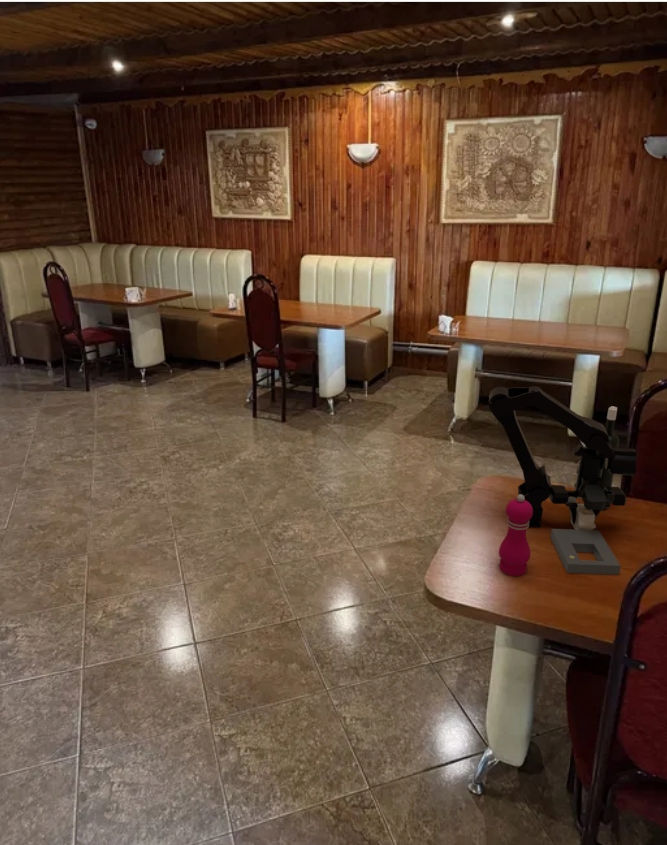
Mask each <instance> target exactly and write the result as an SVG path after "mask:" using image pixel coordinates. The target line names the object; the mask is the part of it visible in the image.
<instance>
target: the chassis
mask: <svg viewBox="0 0 667 845" xmlns="http://www.w3.org/2000/svg"><path fill="white" fill-rule="evenodd" d="M550 539H551V543H552V544H553V546H554V548H555V550H556V552H557V555H558V556H559V559H560V561H561V564H562V565H563V567H564V570H565V572H566V574H583V575H584V574H586V575H611V576H612V575H613V576H615V575H616V576H617V575H619V574H620V570H621V564H620V562H619V560H618V559H617V557H616V556H615V554H614V553H613V551H612V549H611V547H610V546H609V545H608V543H607V541H606V539H605V538H604V537H603V535H602V533H601V531H600V530H598V529H593V530H575V529H574V528H573V529H570V528H569V529H568V528H567V529H565V528H551V529H550ZM578 553H592V554H593V556H594V558H595V559H596V560H586V559H585V560H582V559H580V557H579V555H578Z"/></svg>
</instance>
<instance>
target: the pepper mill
mask: <svg viewBox="0 0 667 845" xmlns="http://www.w3.org/2000/svg"><path fill="white" fill-rule="evenodd" d="M516 498H517V499H516ZM516 498H514V499H511V500H510V501H508V503H507V505H506V508H505V514H506V516H507V518H506V520H507V521H506V525H507V526H508V527H507V532H506V535H505V537H504V538H503V540H502V542H501V543H500V546H499V550H498V555H499V558H500V561H499V570H501V572H503V574H505V575H508V576H511V577H519V576H523V575H525V574H526V572H527V568H528V562H529V561H530V559H531V549H530V546H529V542H528V540H527V529H529V519H530V518H531V517H532V514H533V509H532V506H531V504H530V503H529V502H527V501H526V500H525V497H524V496H523V495H521V494H520V495H518V494H517V496H516Z"/></svg>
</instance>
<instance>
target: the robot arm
mask: <svg viewBox="0 0 667 845" xmlns="http://www.w3.org/2000/svg"><path fill="white" fill-rule="evenodd" d="M533 406H534V407H535V408H537V409H538V410H540V411H542V412H543V413H544V414H545V415H547V416H549V417H550V418H552V419H553V420H555V421H556V422H558V423H559V424H561V425H563V426H564V427H565V428H567V429H569V431H571V432H572V433H573V434H574V436H575V437H576V438H577V439H578V440H579V442H581V443H580V444H578V445H576V446H575V447H573V448H572V451H573V455H574V456H576V457H579V462H578V468H577V469H576V475H577V476H576V482H575V483H574V485H573V486H574V488H575V489H574V490H567V489H566V487H565V485H559V484H553V485H552V483H551V476H549V474H548V472H547V470H546V469H547V468H546V465H542V466H539V465H538V464H537V462H536V461H535V457H534V456H533V453H532V451H531V448H530V447H529V444H528V441H527V440H526V436H525V434H524V433H523V430H522V428H521V426H520V423H519V420H518V419H517V415H516V411H518V410H522V409H525V408H527V407H528V408H529V407H533ZM488 408H489V410H490V413H492V415H493V416H494V418H495V419H496V421H497V422H498V423H499V424H500V425H501V426H502V428H503V430H504V432H505V434H506V437H507V438H508V441H509V444H510V445H511V448H512V450H513V452H514V455H515V456H516V459H517V461H518V464H519V466H520V468H521V471H522V473H523V474H522V475H523V479H524V481H523V482H522V483H521V484H520V485H518V486H517V496H518V495H520V494H521V495H523V496H524V497H525V500H526V501H527V502H529V503H530V504H531V506H532V509H533V514H532V517H531V518H530V519H529V527H531V528H537V527H538V528H540V527H541V526H542V524H541V522H542V520H543V519H542V518H543V512H544V508H543V505H542V503H543V502H545V501H547V499H549V500H550V502H551V503H552V504H553V505H565V506H566V507H568V511H569V515H570V520H571V519H572V523H573V524H575V521H576V508H577V507H578V505H577V499H582V502H583V504H584V507H585V508H586V509H588V510H591V509H592V511H593V512H594V514H595V519H597V517H598V515H599V514H600V513H601V511H604V510H603V509H604V508H607V509H608V508H611V505H613V506H623V507H624V506H626V504H627V496H626V494H625V493H624V491H622V489H621V488H620V487H619V486H612V487H605V488H604V489H603V486H602V483H603V482H602V480H603V479H602V478H601V475H602V469H603V463H604V458H605V469H609V473H610V474H614V475H621V476H622V475H623V476H633V477H634V476H635V474H636V472H637V451H636V449H635V448H619V447H618V448H613V447H612V444H611V442H609V436H608V434H607V431H606V426H604V425H603V424H602V423H601V422H598V421H597V420H594V419H593V418H590V417H586V416H582V415H580V414H578V413H576V412H575V411H573V410H572V409H571V408H569V407H567V405H564V404H563V403H561V402H560V401H559V400H557V399H555V398H554V397H552V396H551V395H550V394H548V393H547V392H545V391H544V390H543V389H541V387H540V386H534V385H533V386H526V387H523V386H519V387H518V386H513V387H505V386H497V387H495V388H492V390H491V391H490V392H489V395H488ZM515 499H517V497H515ZM572 523H571V524H572ZM529 527H528V528H529Z"/></svg>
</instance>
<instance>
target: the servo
mask: <svg viewBox="0 0 667 845" xmlns="http://www.w3.org/2000/svg"><path fill="white" fill-rule="evenodd" d="M576 503H577V505H578V507H577V508H576V521H575V524H573V523H572V519H571V518H570V523H571V525H572V527H573V530H594V529H596V528H597V526H596V524H595V520H596V518H595V514H594V512H593V511H592V509H591V510H588V509H586V508H585V507H584V503H581V502H580V501H578V502H577V501H576Z"/></svg>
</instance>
